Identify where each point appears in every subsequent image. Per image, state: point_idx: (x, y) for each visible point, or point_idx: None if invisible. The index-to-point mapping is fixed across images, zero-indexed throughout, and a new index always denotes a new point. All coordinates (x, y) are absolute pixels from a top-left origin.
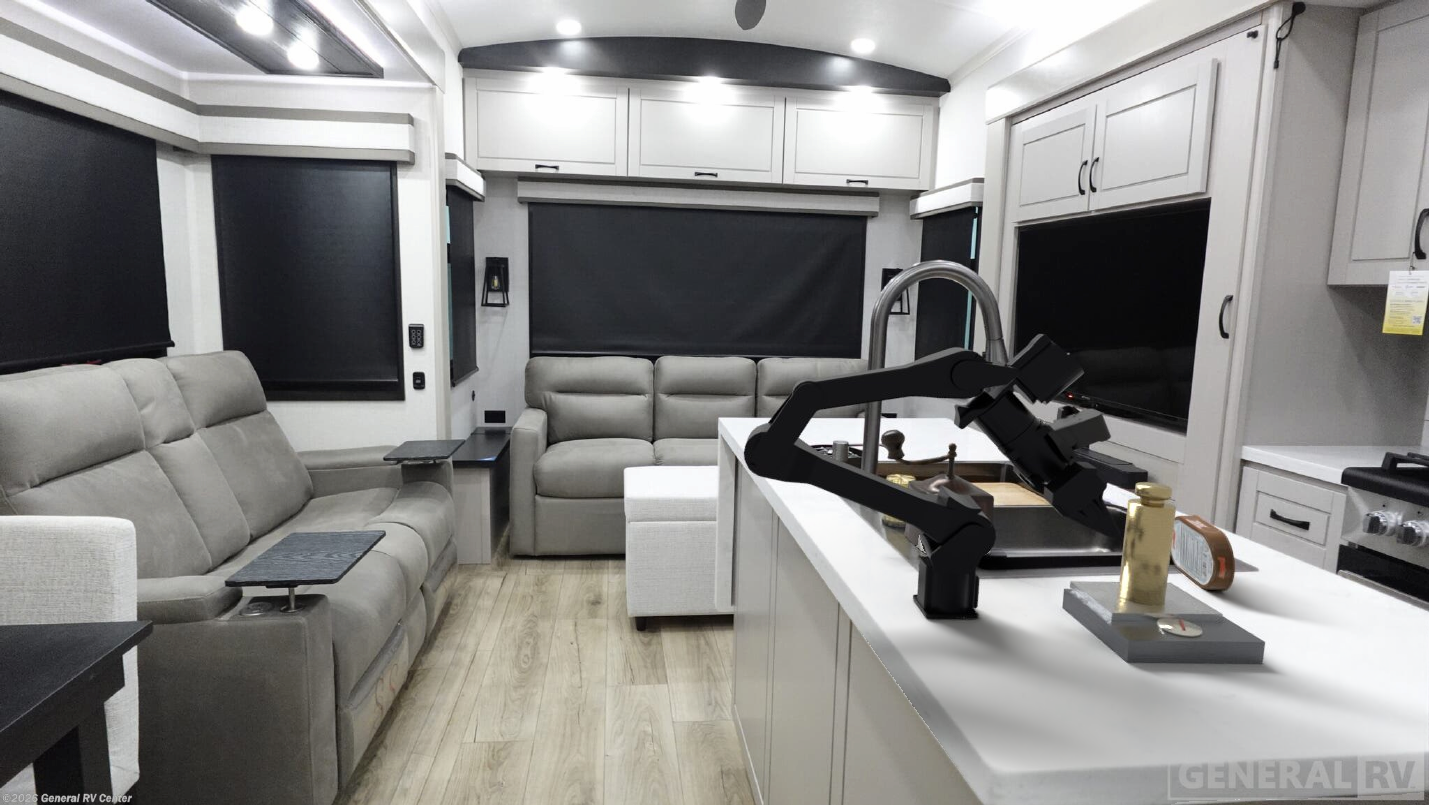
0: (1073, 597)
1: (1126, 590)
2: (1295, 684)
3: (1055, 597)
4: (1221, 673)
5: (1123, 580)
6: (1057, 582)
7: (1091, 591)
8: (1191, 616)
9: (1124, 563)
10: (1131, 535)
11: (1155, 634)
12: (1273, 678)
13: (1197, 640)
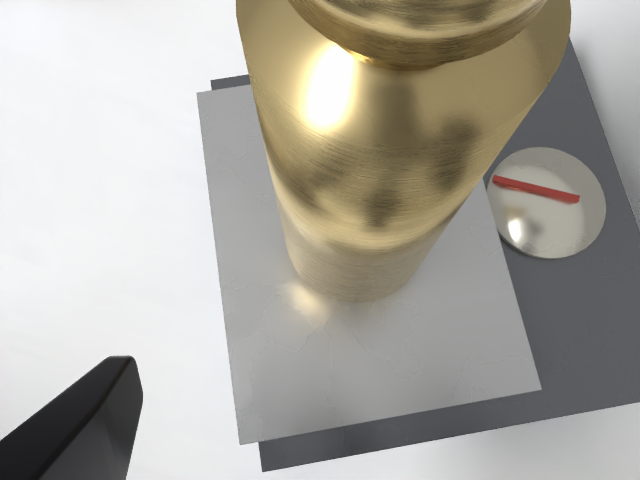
0: (338, 457)
1: (393, 287)
2: (631, 44)
3: (176, 459)
4: (630, 173)
5: (377, 287)
6: (26, 408)
7: (338, 394)
8: None
9: (378, 272)
10: (429, 221)
11: (616, 290)
12: (615, 73)
13: (619, 187)
